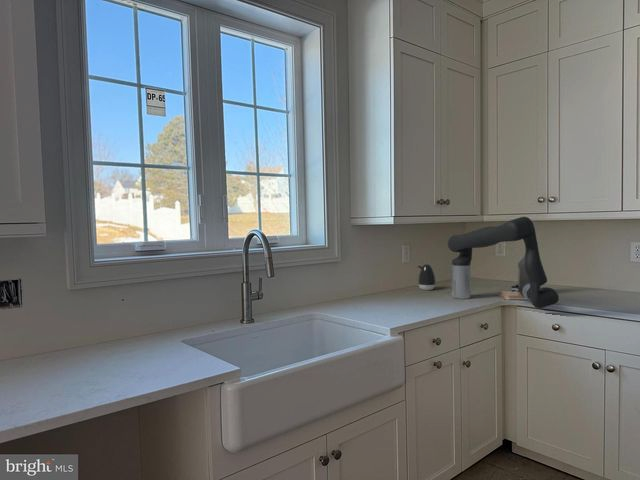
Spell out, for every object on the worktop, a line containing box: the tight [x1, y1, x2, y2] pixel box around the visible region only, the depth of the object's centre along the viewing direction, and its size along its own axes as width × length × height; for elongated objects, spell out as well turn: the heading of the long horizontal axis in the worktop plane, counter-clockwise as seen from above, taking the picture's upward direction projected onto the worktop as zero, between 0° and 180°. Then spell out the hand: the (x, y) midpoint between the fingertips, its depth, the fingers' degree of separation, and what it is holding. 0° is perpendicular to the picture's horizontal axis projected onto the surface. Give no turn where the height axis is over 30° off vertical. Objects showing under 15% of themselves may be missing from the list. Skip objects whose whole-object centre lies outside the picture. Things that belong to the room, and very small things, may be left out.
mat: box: [497, 294, 528, 301], centre depth 226 cm, size 14×12×1 cm
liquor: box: [517, 246, 529, 285], centre depth 237 cm, size 9×9×30 cm
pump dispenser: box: [417, 263, 437, 291], centre depth 257 cm, size 10×10×15 cm
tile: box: [500, 290, 526, 299], centre depth 226 cm, size 10×2×14 cm
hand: (518, 286), depth 219 cm, fingers closed
